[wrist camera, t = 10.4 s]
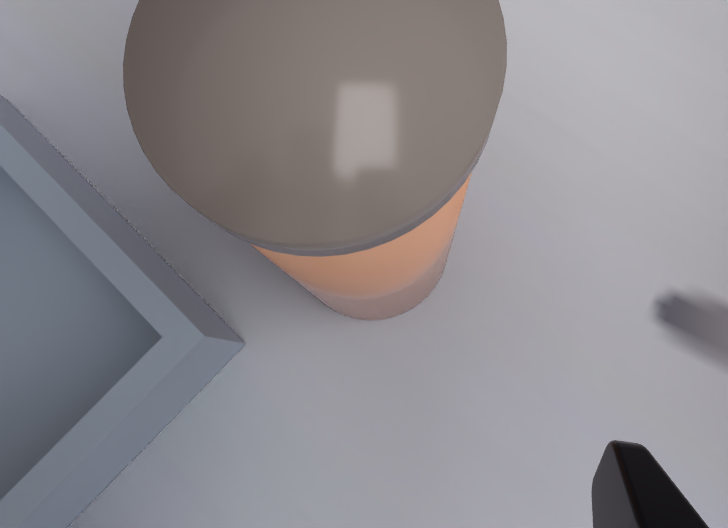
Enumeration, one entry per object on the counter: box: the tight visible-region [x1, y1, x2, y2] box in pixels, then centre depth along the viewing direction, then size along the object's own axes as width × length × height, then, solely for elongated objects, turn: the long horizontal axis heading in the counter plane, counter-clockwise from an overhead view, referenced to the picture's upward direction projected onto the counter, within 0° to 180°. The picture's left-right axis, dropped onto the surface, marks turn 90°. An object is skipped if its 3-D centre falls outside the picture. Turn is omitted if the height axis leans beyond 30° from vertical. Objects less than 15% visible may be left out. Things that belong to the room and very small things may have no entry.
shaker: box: [123, 0, 507, 320], centre depth 15 cm, size 5×5×12 cm
